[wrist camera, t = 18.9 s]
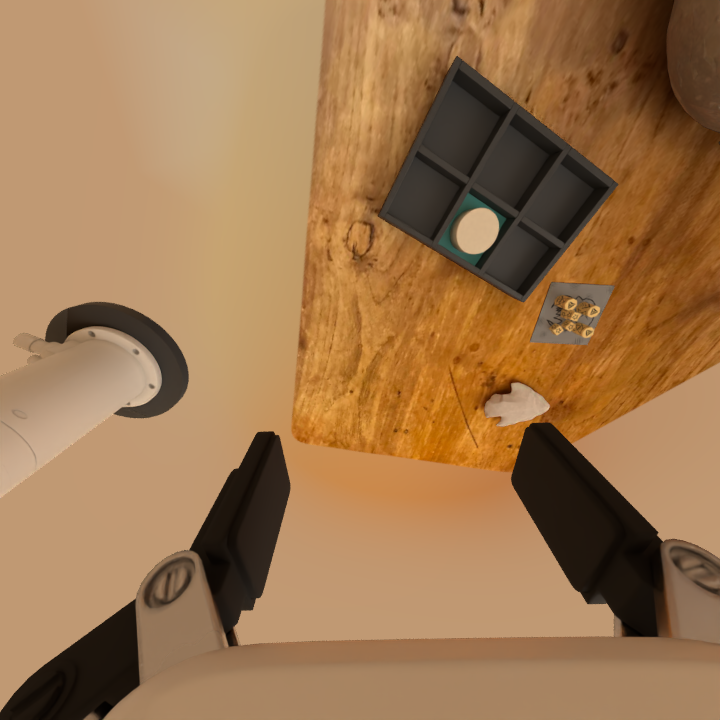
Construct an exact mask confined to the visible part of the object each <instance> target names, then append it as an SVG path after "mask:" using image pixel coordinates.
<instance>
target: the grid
mask: <svg viewBox="0 0 720 720" xmlns="http://www.w3.org/2000/svg"><path fill="white" fill-rule="evenodd" d="M617 186H618V183H616V182H615V181H614V180H613V179H611V178H610V177H609V176H608V175H606V174H605V173H604V172H603V171H601V170H600V169H599V168H598V167H596V166H595V165H594V164H593V163H591V162H590V161H589V160H587V159H586V158H585V157H584V156H582V155H581V154H580V153H579V152H577V151H576V150H575V149H574V148H571V146H570V145H569V144H567V143H566V142H565V141H564V140H562V139H561V138H560V137H559V136H557V135H556V134H555V133H554V132H552V131H551V130H550V129H549V128H547V127H546V126H545V125H544V124H542V123H541V122H540V121H539V120H537V119H536V118H535V117H534V116H532V115H531V114H530V113H529V112H527V111H526V110H525V109H523V108H522V107H521V106H520V105H518V104H517V103H516V102H515V103H514V101H513V100H512V99H511V98H509V97H508V96H507V95H506V94H504V93H503V92H502V91H501V90H499V89H498V88H497V87H496V86H494V85H493V84H492V83H491V82H489V81H488V80H487V79H486V78H484V77H483V76H482V75H481V74H479V73H478V72H477V71H476V70H474V69H473V68H472V67H471V66H469V65H468V64H467V63H465V62H464V61H462V59H460V58H459V57H458V56H456V58H455V60H454V62H453V63H452V65H451V67H450V69H449V71H448V73H447V75H446V77H445V79H444V81H443V83H442V85H441V87H440V89H439V91H438V93H437V95H436V97H435V99H434V101H433V103H432V106H431V108H430V110H429V112H428V114H427V116H426V118H425V120H424V122H423V124H422V126H421V128H420V130H419V132H418V134H417V136H416V138H415V141H414V143H413V145H412V147H411V149H410V151H409V153H408V155H407V157H406V159H405V161H404V163H403V165H402V167H401V169H400V171H399V174H398V176H397V178H396V180H395V182H394V184H393V186H392V188H391V190H390V192H389V194H388V196H387V198H386V200H385V202H384V204H383V206H382V209H381V211H380V213H379V215H378V217H380V218H381V219H383V220H385V221H386V222H388V223H390V224H391V225H393V226H395V227H396V228H398V229H400V230H401V231H403V232H405V233H406V234H408V235H410V236H411V237H413V238H415V239H416V240H418V241H420V242H421V243H423V244H425V245H426V246H428V247H430V248H431V249H433V250H435V251H436V252H438V253H440V254H441V255H443V256H445V257H446V258H448V259H450V260H451V261H453V262H455V263H456V264H458V265H459V266H461V267H463V268H464V269H466V270H468V271H469V272H471V273H473V274H474V275H476V276H478V277H479V278H481V279H483V280H484V281H486V282H488V283H489V284H491V285H493V286H494V287H496V288H498V289H499V290H501V291H503V292H504V293H506V294H508V295H509V296H511V297H513V298H515V299H517V300H519V301H521V302H525V301H526V299H527V298H528V297H529V296H530V294H531V293H532V292H533V291H534V289H535V288H536V287H537V286H538V284H539V283H540V282H541V281H542V279H543V278H544V277H545V276H546V274H547V273H548V272H549V271H550V269H551V268H552V267H553V266H554V264H555V263H556V262H557V261H558V259H559V258H560V257H561V256H562V254H563V253H564V252H565V251H566V249H567V248H568V247H569V246H570V244H571V243H572V242H573V241H574V239H575V238H576V237H577V236H578V234H579V233H580V232H581V231H582V229H583V228H584V227H585V226H586V224H587V223H588V222H589V221H590V219H591V218H592V217H593V216H594V214H595V213H596V212H597V211H598V209H599V208H600V207H601V206H602V204H603V203H604V202H605V201H606V199H607V198H608V197H609V196H610V194H611V193H612V192H613V191H614V189H615V188H616V187H617ZM475 208H487V209H489V210H491V211H492V212H494V214H495V215H496V216H497V219H498V222H499V232H498V235H497V238H496V240H495V241H494V243H493V244H492V245H491V247H490V248H488V249H487V250H486V251H484V252H482V253H479V254H468V253H463V252H460V251H458V250H457V249H455V248H454V246H453V245H452V243H451V240H450V229H451V226H452V224H453V222H454V220H455V219H456V218H457V216H459V215H460V214H461V213H462V212H464V211H466V210H470V209H475Z"/></svg>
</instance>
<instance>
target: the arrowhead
mask: <svg viewBox="0 0 720 720" xmlns="http://www.w3.org/2000/svg"><path fill="white" fill-rule="evenodd" d="M511 388H512V391H511V393H509V394H503V395H500V394H494V395H493V396H492V397H491V398H490V400H488V401H487V402H486V404H485V409H484V410H485V411H484V412H485V416H486V417H487V418H489V417H496V416H501V421H500V422H499V423H498V424H496V425H497V426H501V427H503V426H507V425H510V424H516V423H517V422H521V421H527V420H532V419H533V418H534V417H535V416H537V415H540V414H543V413H544V412H546V411H547V410H548V409H549V407H550V405H549V404H548V403H547V402H546V401H545V400H544V398H543V396H541V395H540V394H538V393H536V392H534V391H533V390H532V389H531V388H530V387H528V386H526V385H524V384H521V383H519V382H516V383H511Z"/></svg>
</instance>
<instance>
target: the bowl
mask: <svg viewBox="0 0 720 720" xmlns="http://www.w3.org/2000/svg"><path fill="white" fill-rule="evenodd" d="M667 67H668V74H669V78H670V83H671V87H672V89H673V92H674V95H675V97H676V98H677V100H678V101H679V103H680V104H681V106H682V107H683V109H684V110H685V112H686V113H687V114H689V115H690V116H691V117H692V118H693V119H694V120H696V121H697V122H698V123H700V124H701V125H702V126H704V127H706V128H708V129H711V130H713V131H716V132H719V133H720V0H675V1H674V4H673V8H672V13H671V17H670V21H669V25H668V29H667ZM719 144H720V142H719Z"/></svg>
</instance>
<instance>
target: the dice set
mask: <svg viewBox="0 0 720 720" xmlns="http://www.w3.org/2000/svg"><path fill="white" fill-rule="evenodd" d="M554 303H555V304H554V305H555V306H556V307H558V308H560V309H562V310H561V314H560V315H561V316H560V317H561V318H562V319H565V321H564V322H563V323H562V324H561V325H560V324H558V323H555V324H554V325H552V326H550V327H549V328H548V329H549V330H550V331H551V333H552V334H553V335H555V336H558V335H560V334H561V333H562V332H564V331H565V330H566V331H568V332H571V331H572V332H573V333H574V334H575V335H577V336H579V337H582V338H584V339H589V338H591V336H592V335H593V334H594V328H593V327H592V326H590V325H587V324H585V323H583V322H577V321H578V320H579V319H580V317H581V316H582V315H583V316H585V317H588V318H591V319H592V318H595V317H597V316H598V315H599V314H600V313H601V308H600V307H599V306H598V305H595V304H592V303H589V302H586V301H584V302H582V303H580V304H579V305H578V300H577V299H575V298H573V297H570V296H567V295H564V294H562V295H559V296H558V297H557V298H556V299H555V300H554Z"/></svg>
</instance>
